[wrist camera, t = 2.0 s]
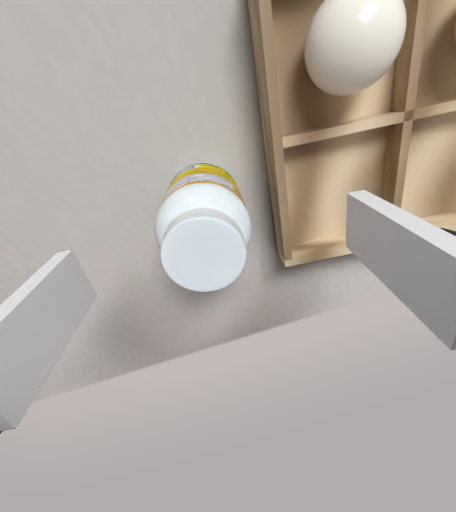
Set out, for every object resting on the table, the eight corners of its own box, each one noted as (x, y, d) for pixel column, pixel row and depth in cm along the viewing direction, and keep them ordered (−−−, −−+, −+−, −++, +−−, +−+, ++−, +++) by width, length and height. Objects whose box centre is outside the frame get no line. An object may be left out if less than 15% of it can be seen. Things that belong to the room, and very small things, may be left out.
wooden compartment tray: (276, 249, 23) (285, 267, 20) (243, -29, 14) (252, -61, 12) (478, 207, 23) (513, 219, 20) (568, -106, 14) (652, -156, 11)
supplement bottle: (176, 151, 19) (154, 184, 10) (247, 172, 20) (279, 217, 11) (163, 220, 21) (136, 292, 13) (227, 235, 22) (241, 311, 14)
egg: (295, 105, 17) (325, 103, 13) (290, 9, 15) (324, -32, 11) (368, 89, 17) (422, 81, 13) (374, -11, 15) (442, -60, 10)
